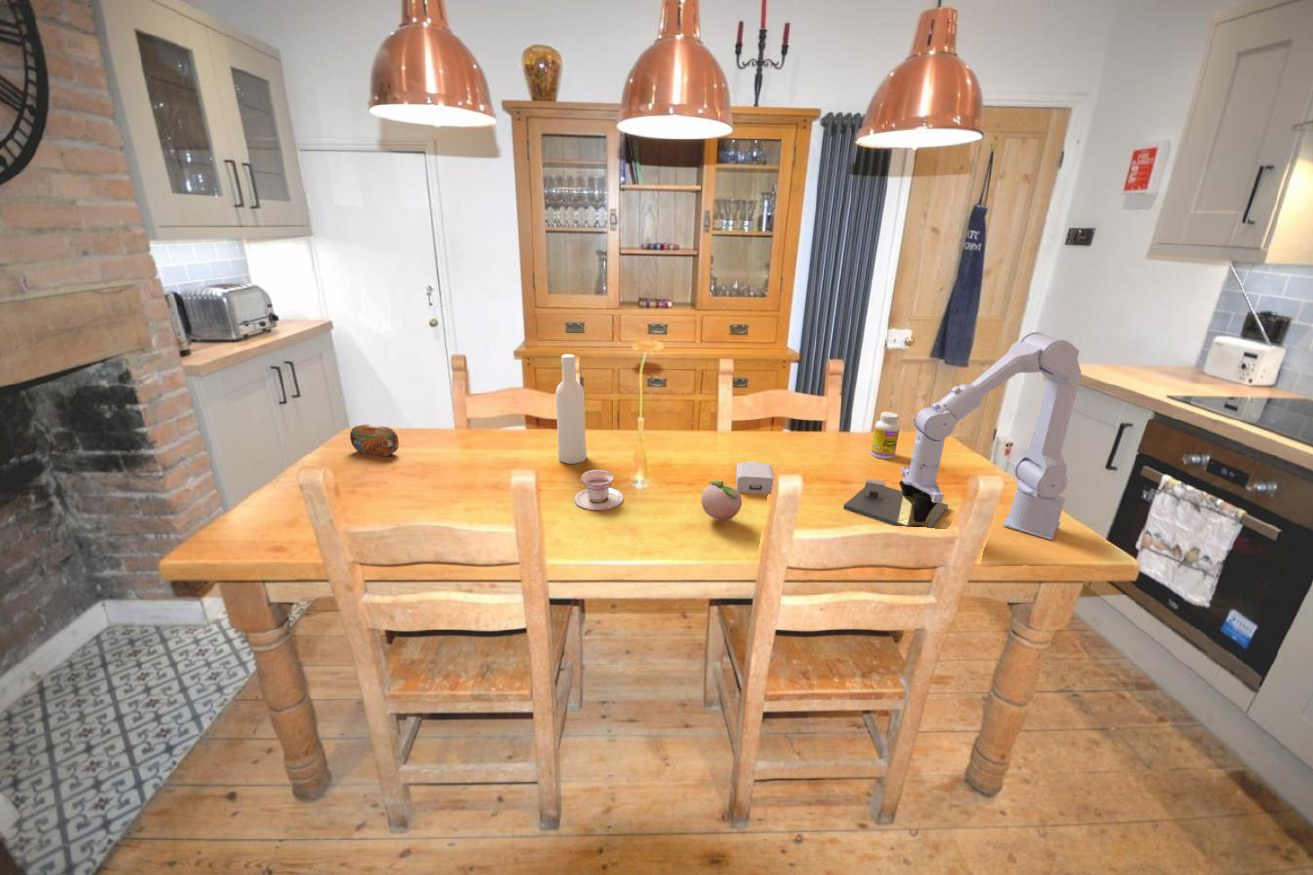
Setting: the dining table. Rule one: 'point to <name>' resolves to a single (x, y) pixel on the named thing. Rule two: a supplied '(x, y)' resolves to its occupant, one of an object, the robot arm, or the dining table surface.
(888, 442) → the supplement bottle
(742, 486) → the charger
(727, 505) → the decorative fruit
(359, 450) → the tin
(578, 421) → the bottle
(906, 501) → the block
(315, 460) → the dining table surface
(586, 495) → the teacup
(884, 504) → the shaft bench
